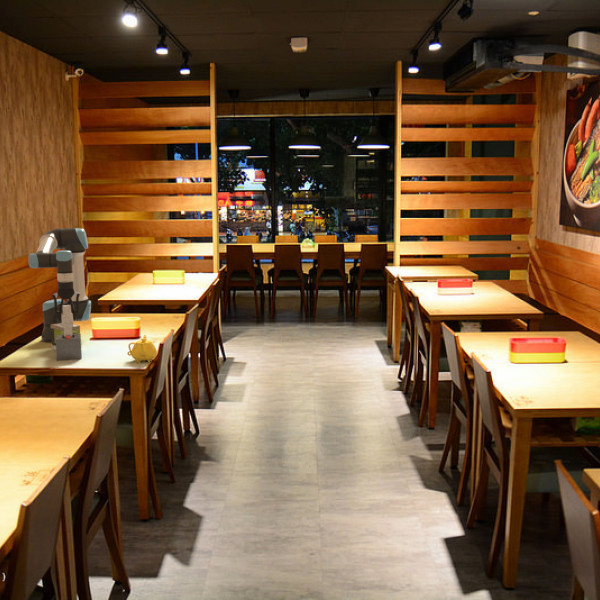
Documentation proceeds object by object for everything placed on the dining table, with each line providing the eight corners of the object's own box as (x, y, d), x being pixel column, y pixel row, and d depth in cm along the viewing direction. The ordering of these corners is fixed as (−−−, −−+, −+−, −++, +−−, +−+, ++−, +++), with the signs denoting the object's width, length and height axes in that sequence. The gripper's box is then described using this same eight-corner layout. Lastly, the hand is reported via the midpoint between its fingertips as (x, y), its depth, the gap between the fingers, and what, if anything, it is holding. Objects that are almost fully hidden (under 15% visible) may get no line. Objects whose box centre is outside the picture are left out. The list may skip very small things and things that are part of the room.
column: (65, 350, 361) (62, 305, 358) (73, 349, 363) (70, 304, 359) (64, 352, 356) (62, 307, 352) (73, 352, 357) (70, 306, 354)
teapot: (129, 356, 367) (129, 334, 365) (158, 355, 369) (158, 334, 367) (125, 365, 347) (124, 343, 345) (155, 364, 349) (155, 342, 347)
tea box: (81, 352, 376) (80, 325, 374) (64, 355, 369) (62, 327, 367) (68, 347, 387) (67, 321, 384) (51, 350, 380) (49, 323, 377)
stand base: (53, 356, 365) (52, 332, 363) (85, 354, 370) (84, 330, 368) (52, 364, 350) (51, 338, 348) (85, 361, 355) (84, 336, 353)
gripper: (47, 282, 348) (49, 328, 351) (83, 281, 353) (85, 326, 356) (47, 280, 355) (50, 326, 358) (83, 279, 360) (85, 324, 363)
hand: (67, 326), depth 357 cm, fingers closed on column, 4 cm apart
